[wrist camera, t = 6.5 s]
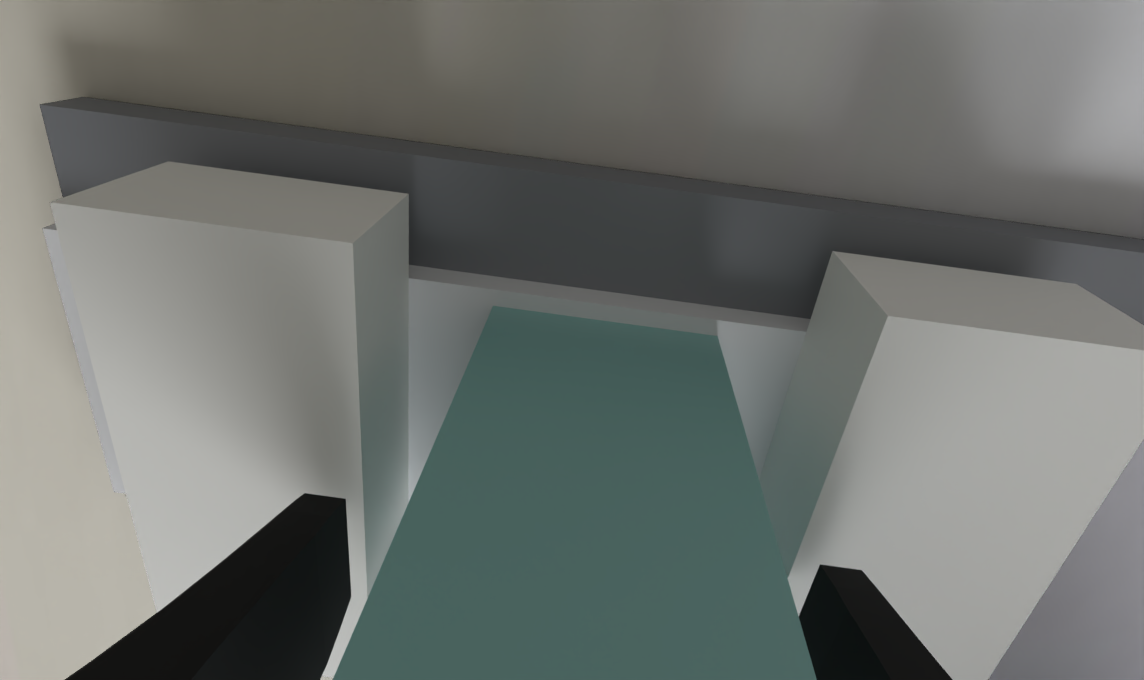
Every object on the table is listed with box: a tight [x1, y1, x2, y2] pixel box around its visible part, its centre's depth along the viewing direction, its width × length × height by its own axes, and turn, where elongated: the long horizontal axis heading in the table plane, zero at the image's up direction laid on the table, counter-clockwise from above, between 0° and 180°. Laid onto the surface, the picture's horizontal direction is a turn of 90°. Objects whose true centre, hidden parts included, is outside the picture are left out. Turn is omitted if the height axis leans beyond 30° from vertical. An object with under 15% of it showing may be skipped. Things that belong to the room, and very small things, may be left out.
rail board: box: [40, 97, 1144, 680], centre depth 12 cm, size 20×10×4 cm, turn 84°
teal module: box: [333, 306, 817, 680], centre depth 9 cm, size 4×6×8 cm, turn 174°
